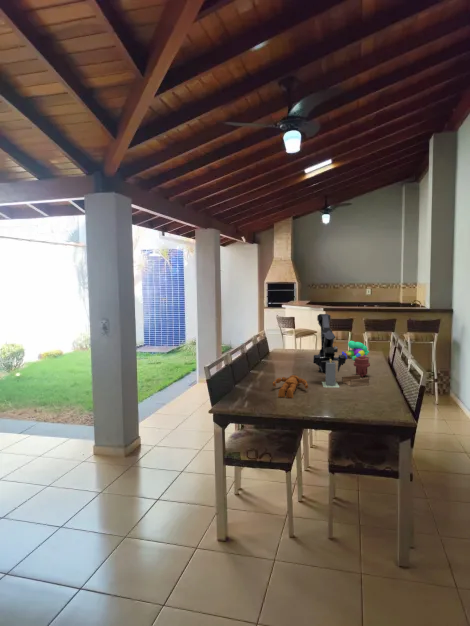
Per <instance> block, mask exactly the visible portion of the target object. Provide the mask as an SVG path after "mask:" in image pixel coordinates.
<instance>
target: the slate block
mask: <svg viewBox="0 0 470 626" xmlns="http://www.w3.org/2000/svg"><path fill="white" fill-rule="evenodd" d="M325 382H326V386H335V382H336V361H332V360H331V359H330V362H326V373H325Z"/></svg>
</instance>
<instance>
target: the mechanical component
mask: <svg viewBox="0 0 470 626" xmlns="http://www.w3.org/2000/svg"><path fill="white" fill-rule="evenodd" d="M369 360H370V359H369V357H366V356H359V357H356V358H355V360H354V362H353V366H354V367H355V375H360V378H364V377H365V376H367V374H368V368H369V367H371V362H369Z"/></svg>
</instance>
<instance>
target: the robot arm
mask: <svg viewBox="0 0 470 626" xmlns="http://www.w3.org/2000/svg"><path fill="white" fill-rule="evenodd" d="M316 321H317V322H318V323H317V324H318V326H319V327H320V341H321V342H320V344H321V347H320V350H319V351H318V354H314V355H313V359H312V360H313V362H312V363H313V364H315V365H317V367H318V371H317V372H318V373H324V374H326V362H330V359H331V360H332V362H337V373H339V372H340V369H341V366H342V365H345V364H346V360H347V359H346V356H347V355H346V356H345V355H342V354H339V355H338V356H337V357H336V356H335V355H336V353H338V351H339V350H338V349H339V348H338V346H334V341H335V339H336V335H335V334H334V333H333V330H332V329H331V327H330V322H331V321H332V320H331V314H329V313H319V314H318V315H317V317H316Z"/></svg>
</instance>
